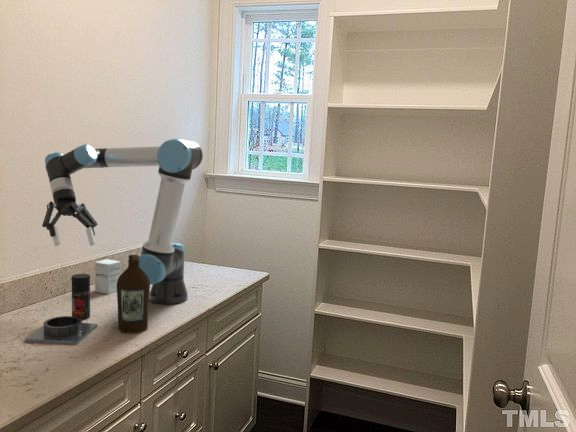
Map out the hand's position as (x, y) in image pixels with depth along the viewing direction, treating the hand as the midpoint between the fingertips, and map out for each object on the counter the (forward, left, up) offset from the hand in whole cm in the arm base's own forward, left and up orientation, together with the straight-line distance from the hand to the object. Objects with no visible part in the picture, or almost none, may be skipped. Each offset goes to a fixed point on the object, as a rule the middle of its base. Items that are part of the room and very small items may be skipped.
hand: (75, 244), depth 183 cm
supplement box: (-2, -26, -25) cm, 36 cm away
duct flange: (-6, +23, -24) cm, 34 cm away
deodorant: (-5, +7, -25) cm, 26 cm away
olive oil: (-26, +15, -25) cm, 39 cm away
